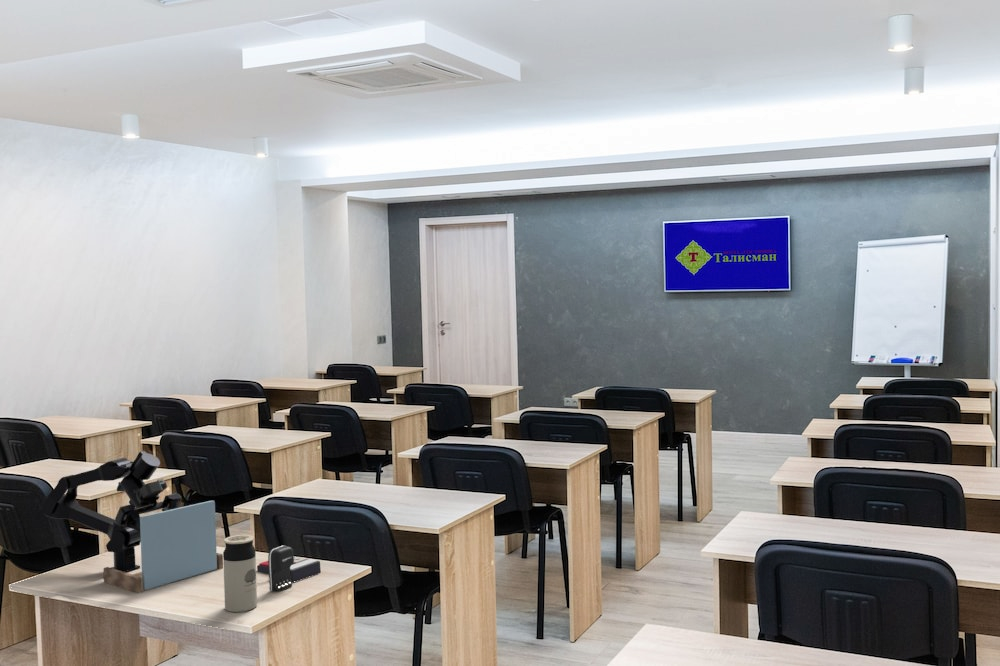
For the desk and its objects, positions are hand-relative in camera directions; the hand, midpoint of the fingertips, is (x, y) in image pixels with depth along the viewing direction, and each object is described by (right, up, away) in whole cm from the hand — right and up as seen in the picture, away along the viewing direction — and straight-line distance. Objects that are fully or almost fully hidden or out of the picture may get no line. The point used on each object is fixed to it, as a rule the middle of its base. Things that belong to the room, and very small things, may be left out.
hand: (163, 530), depth 259 cm
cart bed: (+1, -14, 0) cm, 14 cm away
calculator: (+36, -14, +2) cm, 38 cm away
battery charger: (+37, -14, -12) cm, 41 cm away
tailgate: (+7, -13, -5) cm, 16 cm away
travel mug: (+30, -14, -26) cm, 43 cm away
